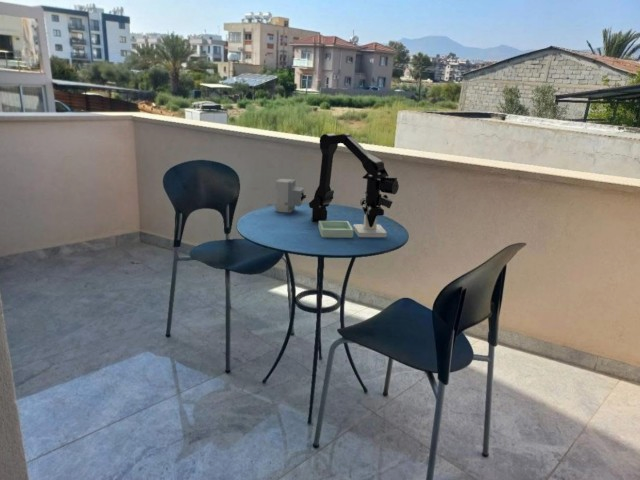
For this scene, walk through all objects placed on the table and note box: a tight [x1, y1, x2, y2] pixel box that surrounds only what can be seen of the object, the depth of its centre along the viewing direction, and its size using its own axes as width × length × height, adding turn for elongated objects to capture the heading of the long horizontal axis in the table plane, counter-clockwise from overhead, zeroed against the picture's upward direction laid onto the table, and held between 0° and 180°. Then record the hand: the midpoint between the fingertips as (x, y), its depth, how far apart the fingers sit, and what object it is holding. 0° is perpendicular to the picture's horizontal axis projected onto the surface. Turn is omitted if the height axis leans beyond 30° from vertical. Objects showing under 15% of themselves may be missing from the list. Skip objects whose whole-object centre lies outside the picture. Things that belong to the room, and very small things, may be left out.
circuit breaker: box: [274, 178, 307, 214], centre depth 217 cm, size 8×14×15 cm, turn 78°
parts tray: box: [318, 220, 355, 239], centre depth 188 cm, size 13×13×3 cm
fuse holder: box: [352, 223, 388, 238], centre depth 190 cm, size 12×12×2 cm
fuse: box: [363, 213, 378, 230], centre depth 189 cm, size 5×3×8 cm, turn 97°
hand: (370, 225), depth 190 cm, fingers closed on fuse, 3 cm apart
